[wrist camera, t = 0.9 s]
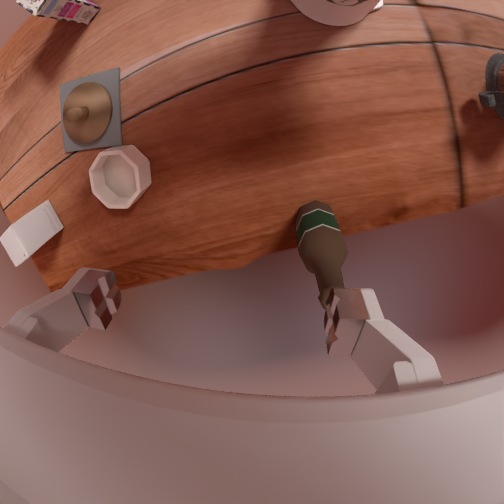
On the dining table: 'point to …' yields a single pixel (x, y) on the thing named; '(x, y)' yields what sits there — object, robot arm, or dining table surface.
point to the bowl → (120, 176)
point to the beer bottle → (321, 247)
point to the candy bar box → (62, 9)
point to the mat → (114, 131)
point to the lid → (87, 112)
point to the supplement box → (30, 232)
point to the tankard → (494, 85)
